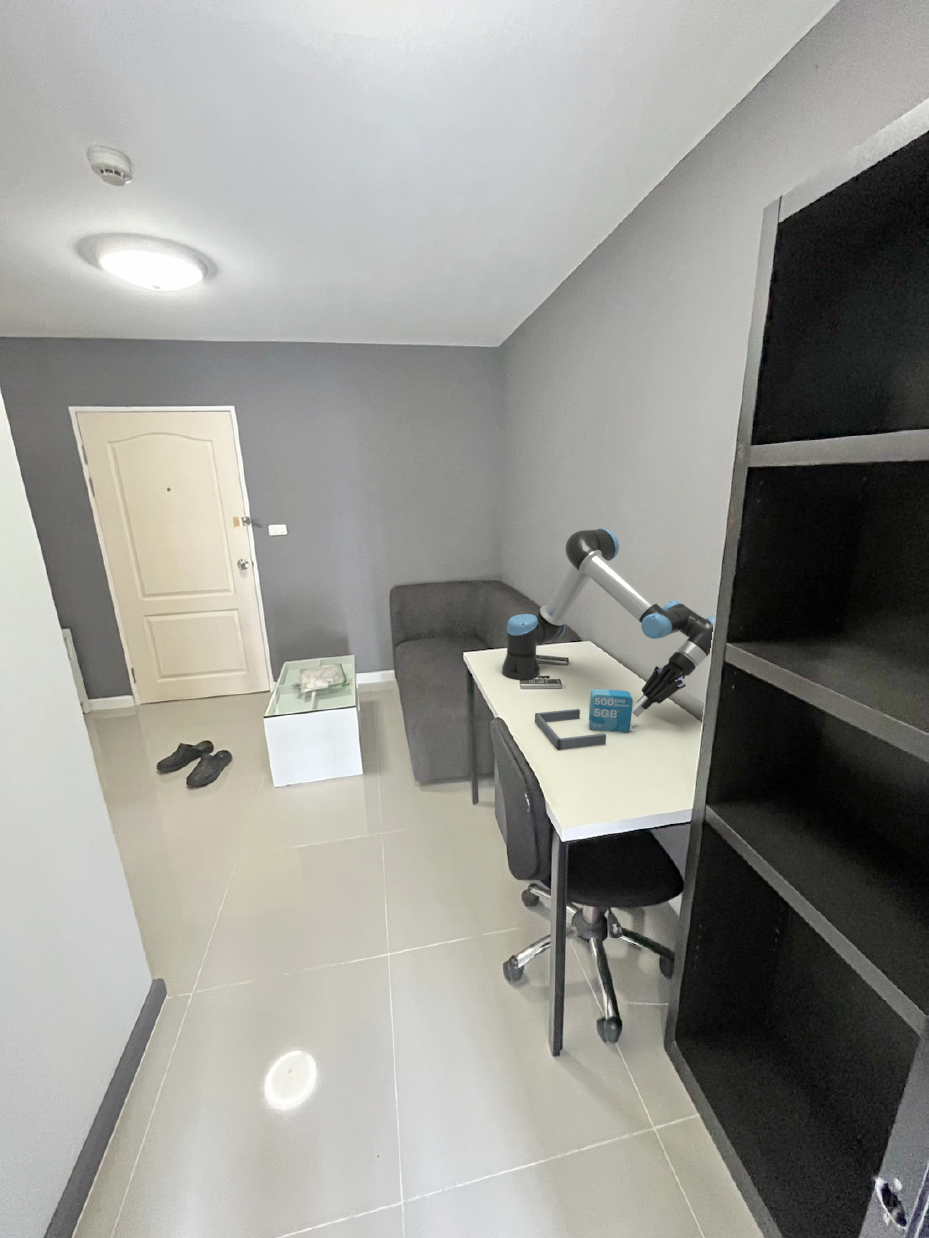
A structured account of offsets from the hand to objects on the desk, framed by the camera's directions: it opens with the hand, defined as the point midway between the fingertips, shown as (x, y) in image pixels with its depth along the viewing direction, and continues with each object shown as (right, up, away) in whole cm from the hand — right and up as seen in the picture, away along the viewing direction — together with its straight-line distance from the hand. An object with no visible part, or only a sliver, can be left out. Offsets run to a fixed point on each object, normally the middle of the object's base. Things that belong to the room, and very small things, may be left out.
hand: (633, 713), depth 151 cm
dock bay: (-20, -5, -3) cm, 21 cm away
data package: (-8, -5, 0) cm, 9 cm away
